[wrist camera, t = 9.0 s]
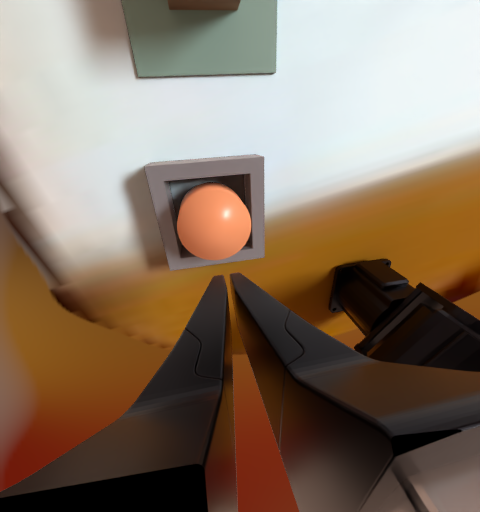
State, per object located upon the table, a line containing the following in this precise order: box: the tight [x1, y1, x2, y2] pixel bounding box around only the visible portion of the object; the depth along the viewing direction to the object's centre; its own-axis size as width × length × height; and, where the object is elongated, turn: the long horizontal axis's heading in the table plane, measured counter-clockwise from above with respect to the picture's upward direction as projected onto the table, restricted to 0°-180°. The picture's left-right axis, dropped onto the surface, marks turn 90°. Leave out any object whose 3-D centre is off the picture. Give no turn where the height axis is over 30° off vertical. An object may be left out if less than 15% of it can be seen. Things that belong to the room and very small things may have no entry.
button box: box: [144, 154, 264, 271], centre depth 18 cm, size 8×8×2 cm
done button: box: [177, 182, 251, 260], centre depth 16 cm, size 5×5×3 cm
